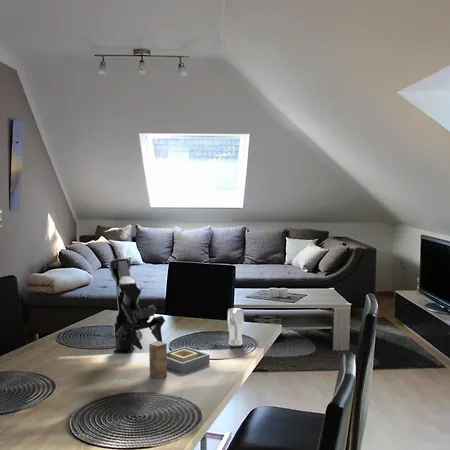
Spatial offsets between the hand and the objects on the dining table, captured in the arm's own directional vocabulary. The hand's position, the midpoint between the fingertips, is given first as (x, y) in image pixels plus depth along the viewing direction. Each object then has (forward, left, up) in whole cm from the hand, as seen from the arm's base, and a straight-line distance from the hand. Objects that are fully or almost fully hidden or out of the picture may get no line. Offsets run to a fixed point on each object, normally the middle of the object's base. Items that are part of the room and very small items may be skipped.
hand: (151, 346), depth 200 cm
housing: (+6, +14, -10) cm, 18 cm away
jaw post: (+3, -1, -10) cm, 11 cm away
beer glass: (+16, +44, -10) cm, 48 cm away
